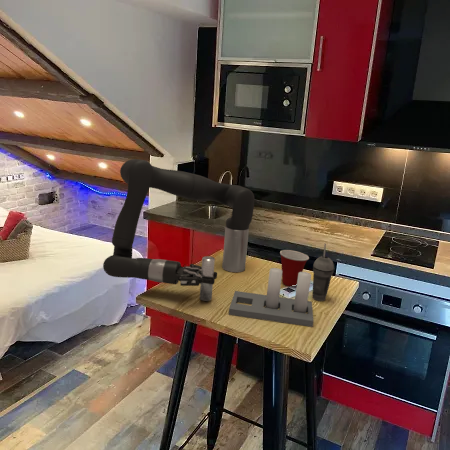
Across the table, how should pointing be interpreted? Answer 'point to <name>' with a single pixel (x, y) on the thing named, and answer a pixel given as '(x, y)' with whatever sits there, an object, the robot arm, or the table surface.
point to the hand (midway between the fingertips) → (215, 278)
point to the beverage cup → (322, 276)
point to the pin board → (276, 302)
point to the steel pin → (208, 271)
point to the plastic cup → (292, 266)
